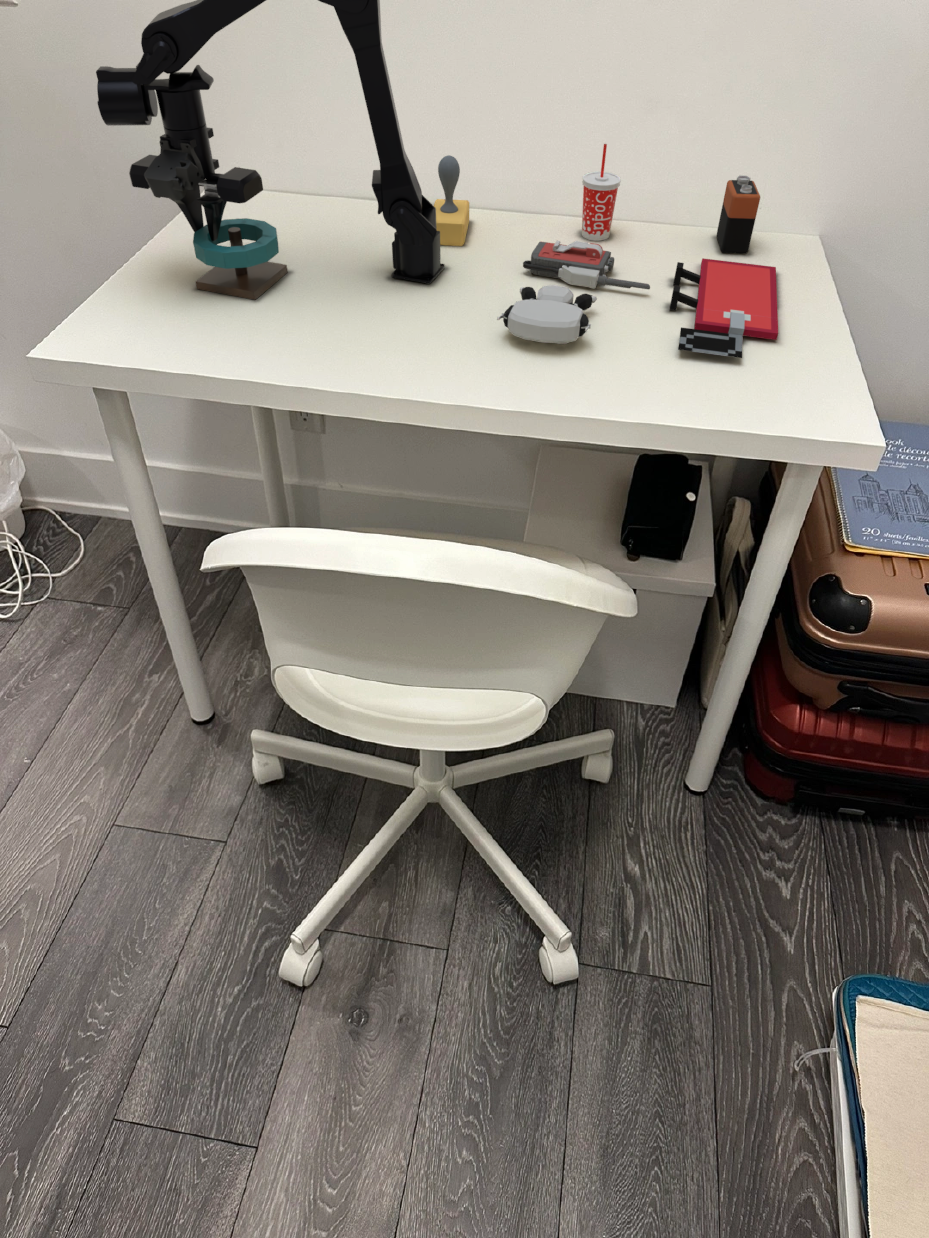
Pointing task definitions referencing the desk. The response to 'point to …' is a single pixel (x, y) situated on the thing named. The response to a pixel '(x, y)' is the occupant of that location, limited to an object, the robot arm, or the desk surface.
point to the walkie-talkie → (576, 264)
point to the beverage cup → (599, 202)
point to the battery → (738, 215)
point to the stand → (241, 275)
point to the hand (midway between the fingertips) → (207, 239)
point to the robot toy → (548, 315)
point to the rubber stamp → (451, 206)
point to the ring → (237, 255)
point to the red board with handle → (728, 306)
